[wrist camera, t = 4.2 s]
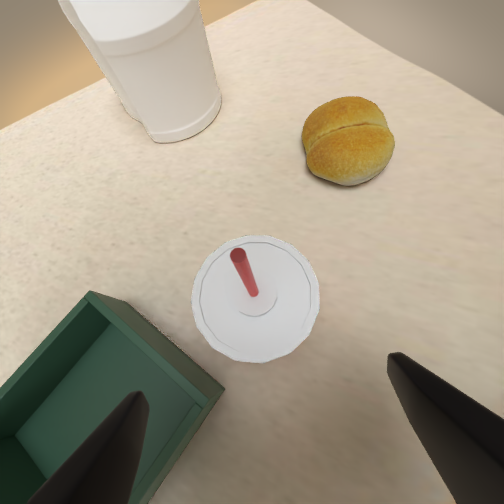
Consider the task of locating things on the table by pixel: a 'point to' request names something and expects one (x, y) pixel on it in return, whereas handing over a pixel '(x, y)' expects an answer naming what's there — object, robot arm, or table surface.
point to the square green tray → (98, 396)
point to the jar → (152, 61)
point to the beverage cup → (255, 298)
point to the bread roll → (347, 141)
